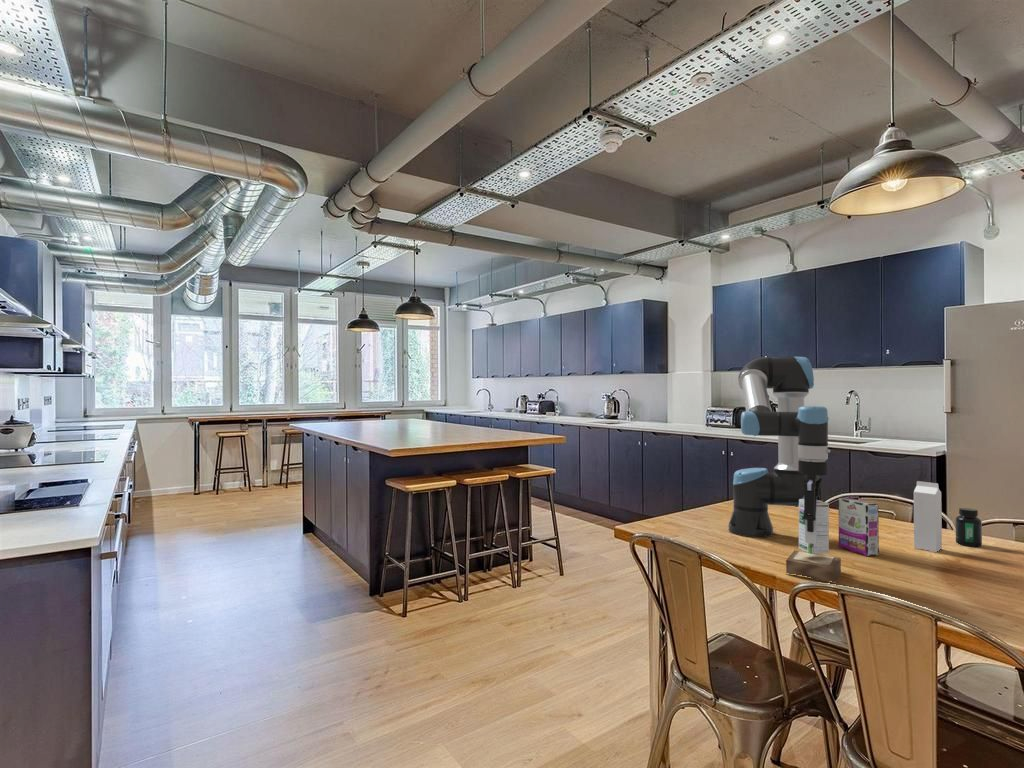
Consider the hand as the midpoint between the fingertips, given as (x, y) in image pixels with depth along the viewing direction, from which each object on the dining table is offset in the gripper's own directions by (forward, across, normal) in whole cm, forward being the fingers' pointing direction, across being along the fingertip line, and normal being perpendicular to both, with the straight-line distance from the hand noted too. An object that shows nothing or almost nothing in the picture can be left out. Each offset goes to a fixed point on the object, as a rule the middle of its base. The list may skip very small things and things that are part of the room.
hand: (813, 539), depth 155 cm
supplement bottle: (+10, +65, -37) cm, 75 cm away
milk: (+10, +50, -26) cm, 57 cm away
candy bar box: (+10, +33, -8) cm, 35 cm away
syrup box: (+3, 0, 0) cm, 3 cm away
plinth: (+10, 0, 0) cm, 10 cm away
